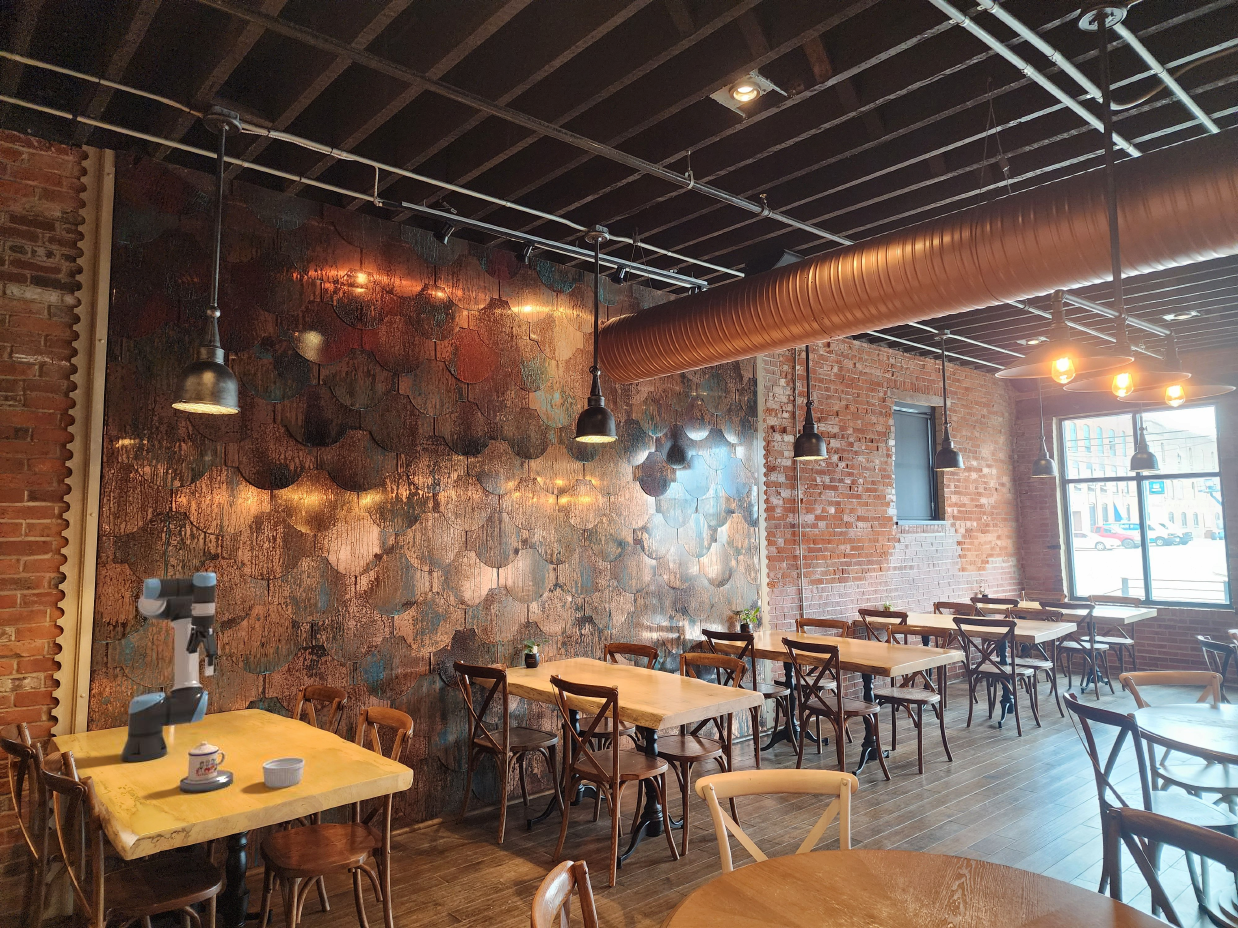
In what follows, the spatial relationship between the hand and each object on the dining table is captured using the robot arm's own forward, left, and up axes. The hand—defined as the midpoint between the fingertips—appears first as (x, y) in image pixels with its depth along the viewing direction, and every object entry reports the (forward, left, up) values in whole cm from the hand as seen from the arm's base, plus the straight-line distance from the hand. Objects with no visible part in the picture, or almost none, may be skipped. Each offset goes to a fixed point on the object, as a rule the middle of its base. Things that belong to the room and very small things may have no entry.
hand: (200, 673), depth 276 cm
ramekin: (+39, +12, -35) cm, 54 cm away
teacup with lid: (+20, -5, -32) cm, 38 cm away
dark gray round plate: (+20, -5, -35) cm, 40 cm away
